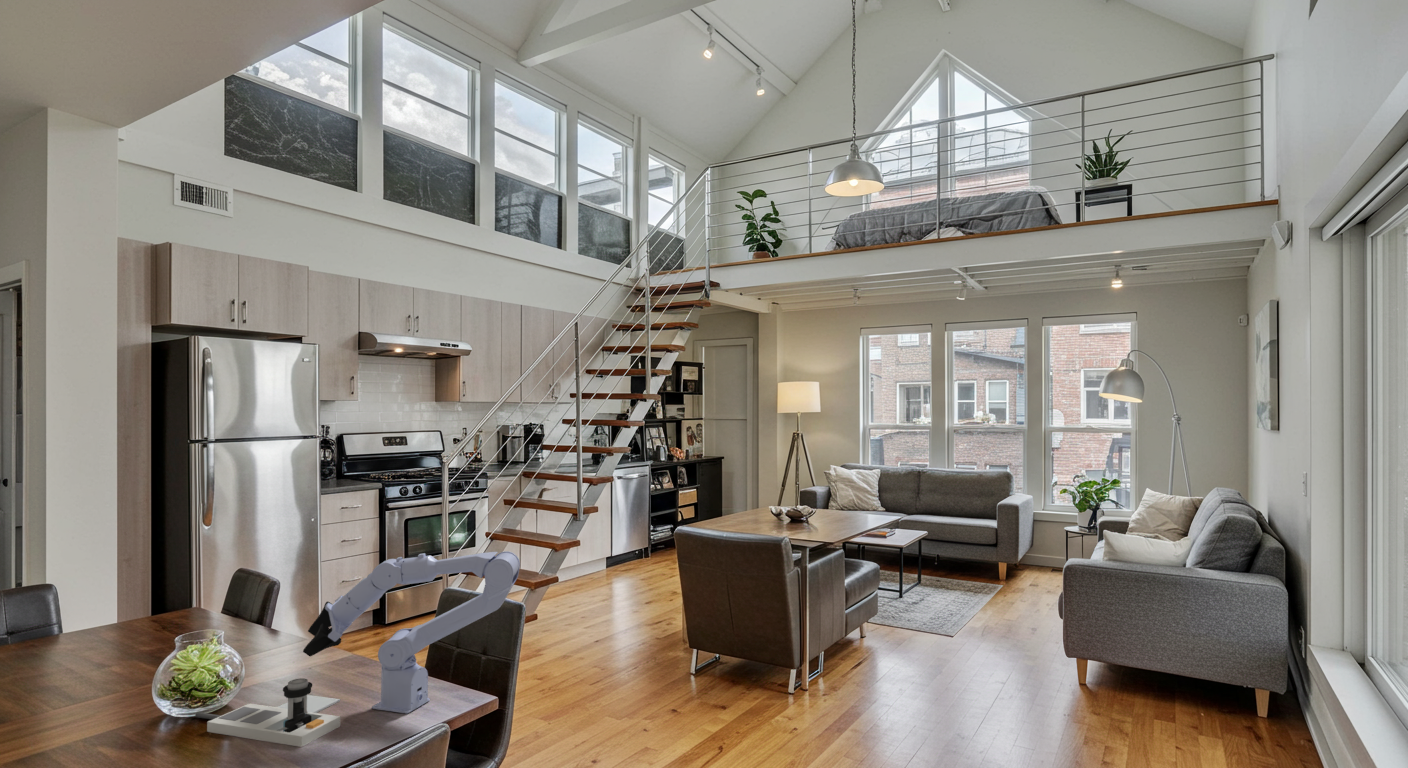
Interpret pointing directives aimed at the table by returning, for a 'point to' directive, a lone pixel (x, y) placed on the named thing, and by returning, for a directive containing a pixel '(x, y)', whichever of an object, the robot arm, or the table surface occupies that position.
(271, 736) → the white compartment tray
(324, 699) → the mat
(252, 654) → the table surface
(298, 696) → the push button
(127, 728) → the table surface
